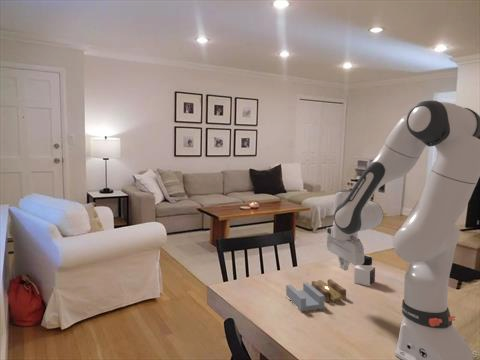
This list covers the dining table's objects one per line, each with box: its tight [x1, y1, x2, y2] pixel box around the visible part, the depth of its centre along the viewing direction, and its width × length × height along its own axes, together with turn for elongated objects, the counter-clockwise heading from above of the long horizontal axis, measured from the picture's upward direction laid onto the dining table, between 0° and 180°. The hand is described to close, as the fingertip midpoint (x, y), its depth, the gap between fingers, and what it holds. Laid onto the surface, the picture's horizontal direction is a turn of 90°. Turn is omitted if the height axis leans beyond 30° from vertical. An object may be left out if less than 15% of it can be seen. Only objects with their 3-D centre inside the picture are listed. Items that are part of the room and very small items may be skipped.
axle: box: [316, 279, 342, 303], centre depth 143 cm, size 14×4×4 cm, turn 15°
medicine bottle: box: [353, 254, 376, 287], centre depth 156 cm, size 7×7×12 cm
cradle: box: [285, 282, 325, 312], centre depth 136 cm, size 14×10×5 cm
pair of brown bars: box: [311, 278, 347, 303], centre depth 143 cm, size 12×9×4 cm
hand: (343, 269), depth 130 cm, fingers closed
